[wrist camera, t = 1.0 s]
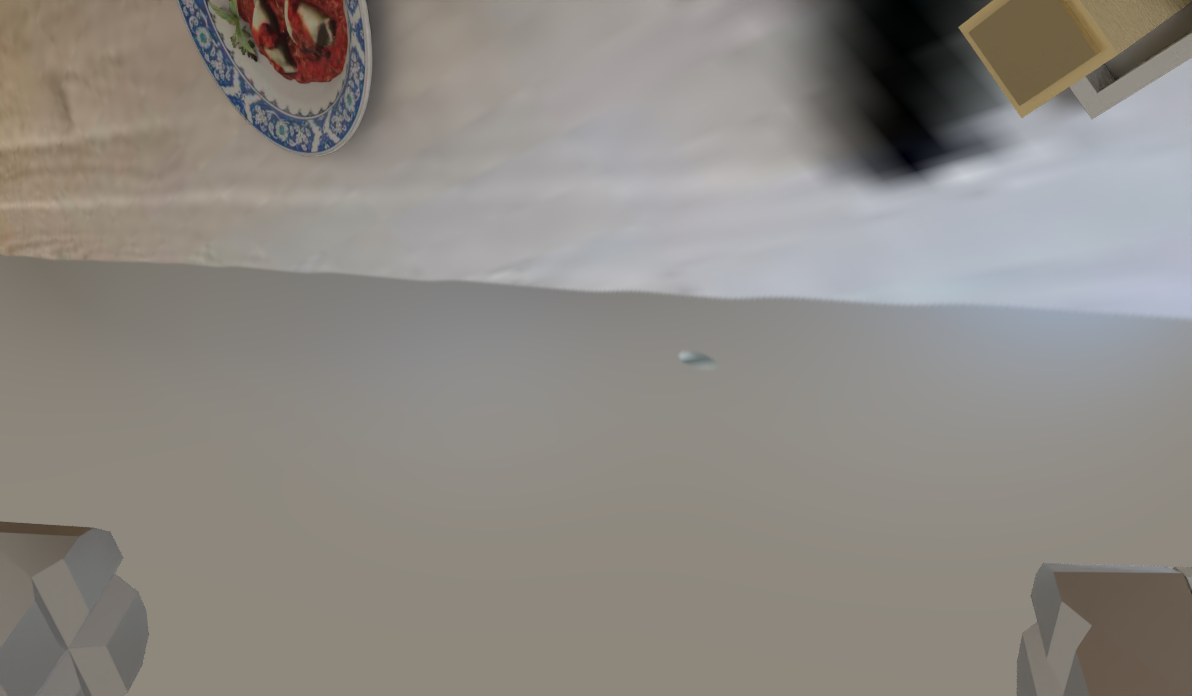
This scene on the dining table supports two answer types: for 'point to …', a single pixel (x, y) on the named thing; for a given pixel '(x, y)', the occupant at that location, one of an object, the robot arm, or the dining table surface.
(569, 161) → the dining table surface
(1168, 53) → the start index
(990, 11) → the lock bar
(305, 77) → the ceramic plate
